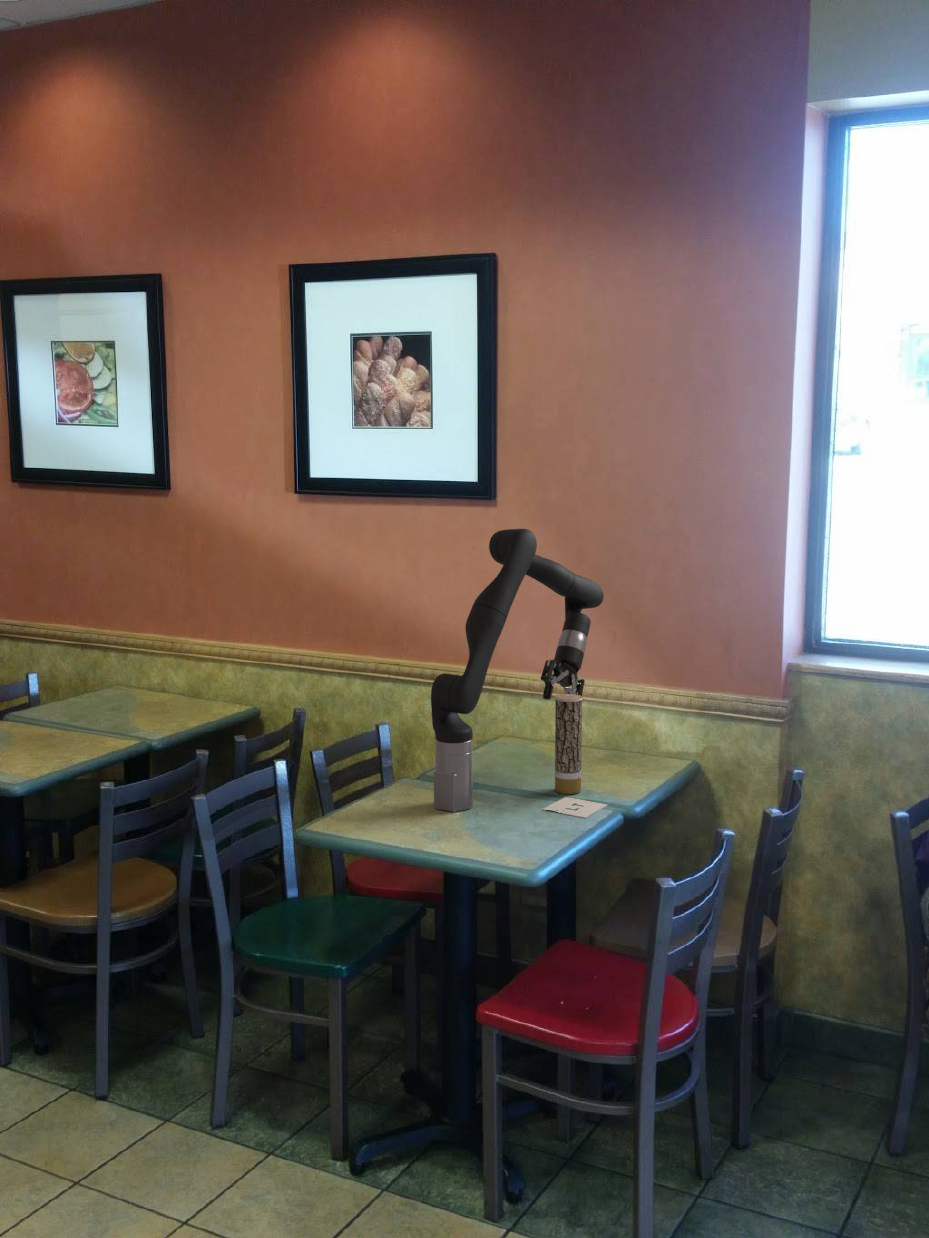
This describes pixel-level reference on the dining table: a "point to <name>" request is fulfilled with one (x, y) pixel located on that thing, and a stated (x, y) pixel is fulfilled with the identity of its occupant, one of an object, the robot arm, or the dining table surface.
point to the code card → (575, 807)
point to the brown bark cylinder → (568, 743)
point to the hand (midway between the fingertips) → (556, 705)
